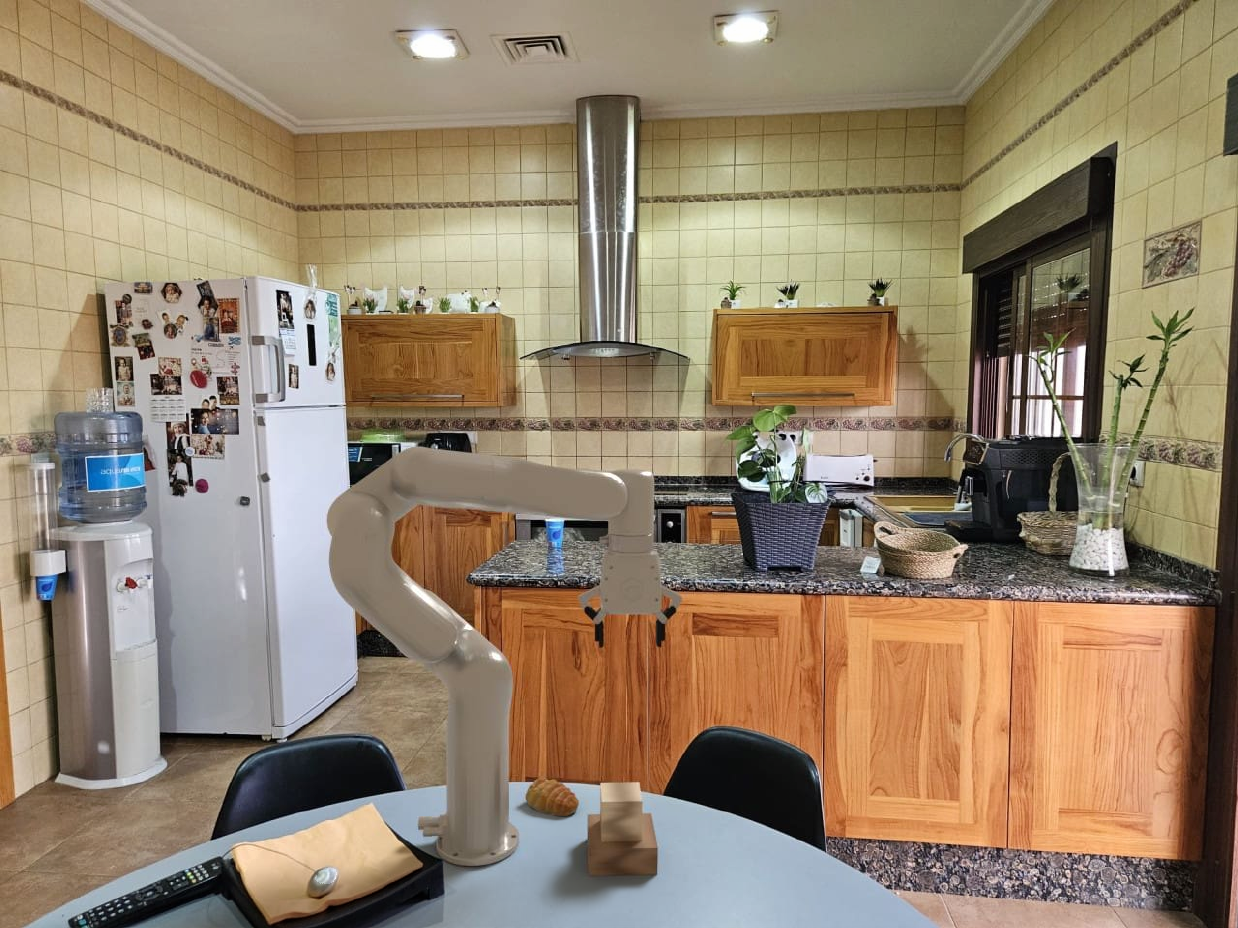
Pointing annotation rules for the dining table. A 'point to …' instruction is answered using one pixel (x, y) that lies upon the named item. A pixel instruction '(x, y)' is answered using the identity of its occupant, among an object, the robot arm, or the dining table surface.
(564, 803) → the pastry
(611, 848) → the walnut base
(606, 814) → the maple cube
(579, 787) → the dining table surface
